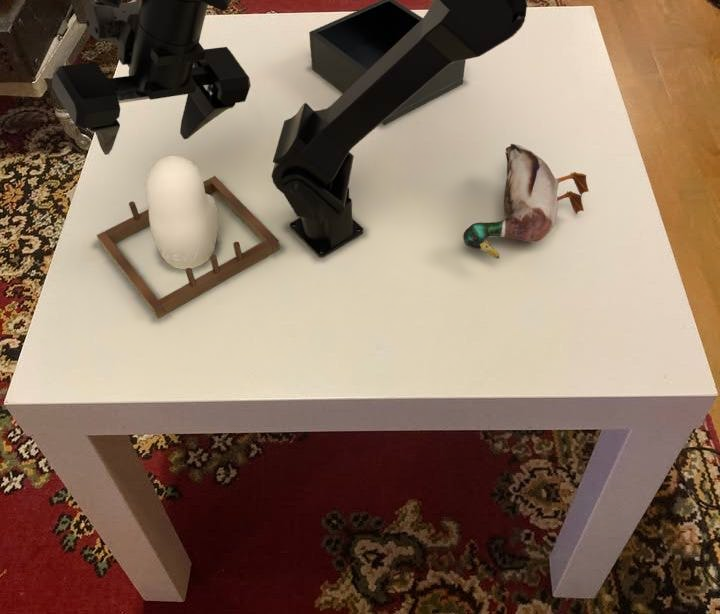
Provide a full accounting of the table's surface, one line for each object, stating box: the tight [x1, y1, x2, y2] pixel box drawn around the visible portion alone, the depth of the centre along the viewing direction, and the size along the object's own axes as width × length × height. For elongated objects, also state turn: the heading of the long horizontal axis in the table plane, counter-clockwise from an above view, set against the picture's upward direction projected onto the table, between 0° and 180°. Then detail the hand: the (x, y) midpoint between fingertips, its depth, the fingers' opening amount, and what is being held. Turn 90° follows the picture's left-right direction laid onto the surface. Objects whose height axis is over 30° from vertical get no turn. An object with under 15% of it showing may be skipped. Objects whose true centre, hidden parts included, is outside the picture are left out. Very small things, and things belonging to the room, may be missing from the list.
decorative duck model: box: [462, 143, 590, 260], centre depth 83 cm, size 15×8×15 cm
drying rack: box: [96, 175, 281, 319], centre depth 82 cm, size 14×16×4 cm
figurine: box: [145, 155, 219, 270], centre depth 79 cm, size 7×8×12 cm
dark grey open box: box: [308, 0, 467, 126], centre depth 101 cm, size 17×15×6 cm
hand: (145, 143), depth 77 cm, fingers open, 9 cm apart
